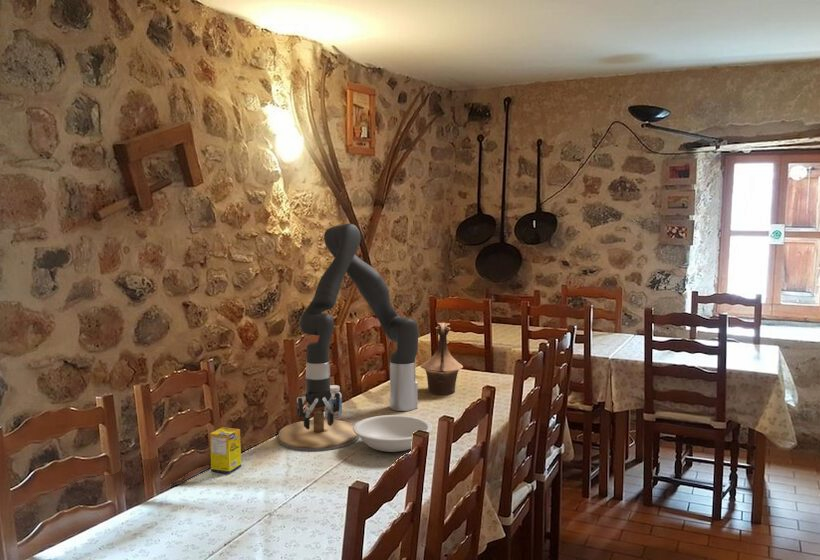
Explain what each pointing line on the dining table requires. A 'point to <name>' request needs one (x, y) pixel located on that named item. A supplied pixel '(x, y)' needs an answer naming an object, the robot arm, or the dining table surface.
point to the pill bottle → (337, 414)
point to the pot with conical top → (442, 366)
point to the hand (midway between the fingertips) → (318, 426)
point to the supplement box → (225, 450)
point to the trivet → (317, 448)
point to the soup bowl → (390, 431)
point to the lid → (317, 433)
